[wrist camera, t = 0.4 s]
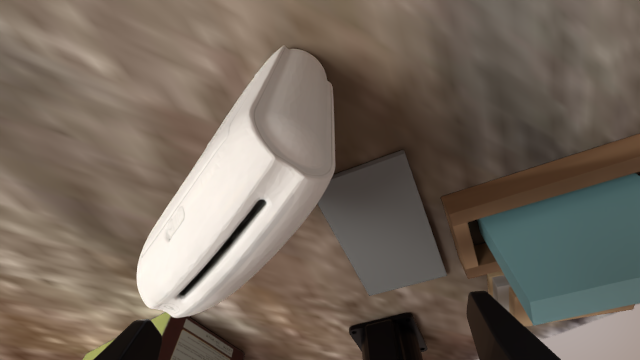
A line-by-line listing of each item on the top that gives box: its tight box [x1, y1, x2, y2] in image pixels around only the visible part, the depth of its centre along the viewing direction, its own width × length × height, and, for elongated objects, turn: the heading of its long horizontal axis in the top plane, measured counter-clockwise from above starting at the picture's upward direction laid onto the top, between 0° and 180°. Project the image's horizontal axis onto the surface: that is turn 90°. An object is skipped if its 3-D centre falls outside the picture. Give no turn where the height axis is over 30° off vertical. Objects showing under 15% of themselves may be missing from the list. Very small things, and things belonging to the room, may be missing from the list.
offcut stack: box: [487, 271, 635, 326], centre depth 28 cm, size 5×11×3 cm, turn 108°
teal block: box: [477, 173, 640, 326], centre depth 21 cm, size 2×10×8 cm, turn 114°
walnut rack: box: [441, 134, 640, 279], centre depth 23 cm, size 7×14×2 cm, turn 114°
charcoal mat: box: [317, 150, 447, 296], centre depth 26 cm, size 13×7×1 cm, turn 24°
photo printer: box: [137, 46, 335, 318], centre depth 16 cm, size 10×4×12 cm, turn 142°
